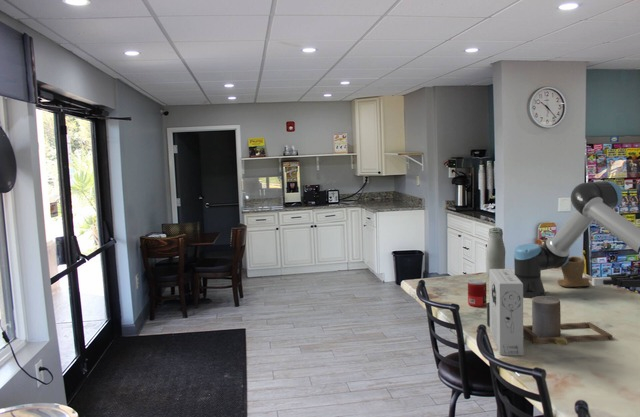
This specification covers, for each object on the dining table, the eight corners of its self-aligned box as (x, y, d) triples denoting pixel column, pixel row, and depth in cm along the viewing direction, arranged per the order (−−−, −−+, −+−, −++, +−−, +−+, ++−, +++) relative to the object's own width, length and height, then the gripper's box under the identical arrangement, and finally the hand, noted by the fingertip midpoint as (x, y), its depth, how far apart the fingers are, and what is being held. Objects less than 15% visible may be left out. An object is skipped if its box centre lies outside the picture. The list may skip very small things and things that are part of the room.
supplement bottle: (484, 323, 200) (483, 294, 199) (500, 322, 201) (500, 293, 200) (491, 329, 194) (491, 299, 192) (508, 328, 194) (508, 298, 193)
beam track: (585, 323, 195) (585, 316, 195) (616, 341, 176) (616, 333, 176) (512, 327, 194) (512, 320, 194) (536, 346, 175) (536, 338, 175)
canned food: (487, 307, 220) (487, 283, 219) (468, 307, 222) (468, 283, 221) (485, 302, 228) (485, 279, 227) (467, 302, 230) (467, 279, 228)
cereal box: (523, 356, 168) (523, 283, 165) (499, 355, 169) (499, 283, 166) (510, 333, 189) (510, 268, 186) (489, 332, 190) (489, 268, 188)
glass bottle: (485, 280, 266) (485, 228, 263) (486, 276, 276) (486, 226, 273) (505, 281, 263) (505, 229, 260) (505, 276, 272) (505, 226, 269)
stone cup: (563, 289, 243) (563, 259, 242) (555, 283, 255) (555, 254, 253) (596, 289, 241) (596, 259, 240) (586, 283, 253) (586, 254, 251)
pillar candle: (558, 331, 188) (557, 292, 187) (562, 340, 179) (562, 300, 178) (530, 330, 191) (530, 292, 190) (533, 339, 182) (533, 299, 181)
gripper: (668, 294, 178) (603, 297, 177) (643, 284, 191) (582, 286, 190) (669, 273, 177) (604, 276, 176) (644, 265, 190) (583, 267, 189)
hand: (593, 281), depth 183 cm, fingers closed
